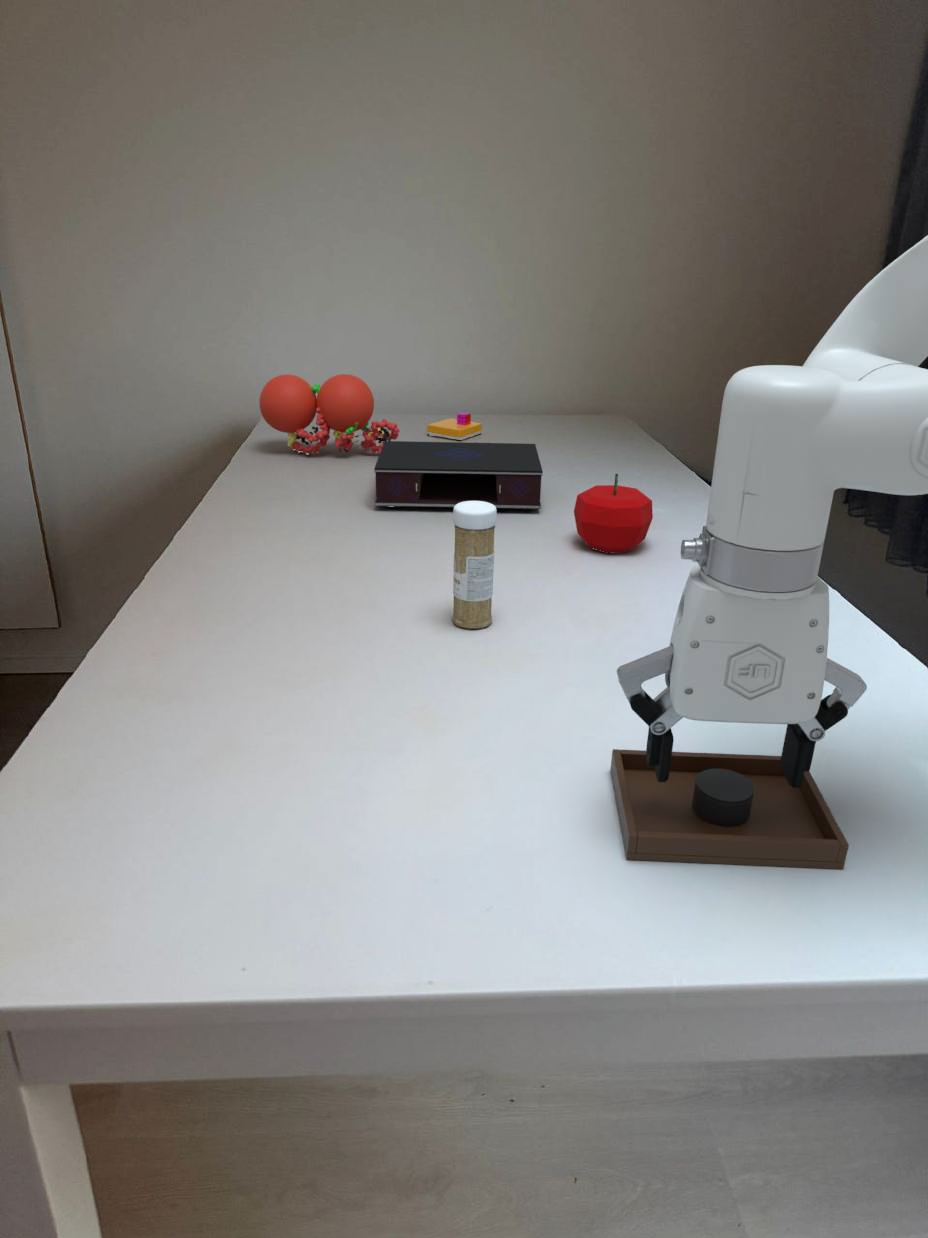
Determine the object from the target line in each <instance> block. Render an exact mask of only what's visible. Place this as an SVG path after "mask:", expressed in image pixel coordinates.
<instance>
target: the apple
mask: <svg viewBox="0 0 928 1238" xmlns="http://www.w3.org/2000/svg"><path fill="white" fill-rule="evenodd" d="M618 482H619V473H615V475H614V484H606V485H605V484H603V485H602V484H598V485H594V486H592V487H590V488H588V489H586V490H584V491H582V492H580V493H578V494H577V495H576V499H575V504H574V509H573V516H574V521H575V526H576V533H577V535H578V536H579V538H581V540H582V541H583V542H584V543H585V542H586V543H587V544H588V545H589V546H590V547H589V546H588V545H587V544H586V543H585V544H586V545H587V546H588V547H589V548H590V549H592V548H594V549H597V550H601V551H604V552H603V553H605V552H608V553H610V554H612V553H611V552H622V553H626V552H625V551H627V552H629V551H631V550H633V549H634V547H635V548H636V547H637V546H639V545H640V544H641V543H642V542H644V541H645V540H646V537H647V535H648V533H649V529H650V526H651V524H652V521H653V518H654V517H653V499H651V498H649V497H648V496H647V495H646V494H645V493H643V492H642V491H640V489H638V488H636V487H630V486H625V485H618ZM632 548H633V549H632ZM597 550H596V551H597ZM601 551H600V552H601ZM608 553H607V554H608Z"/></svg>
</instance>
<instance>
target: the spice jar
mask: <svg viewBox="0 0 928 1238" xmlns="http://www.w3.org/2000/svg"><path fill="white" fill-rule="evenodd" d="M497 511H498V510H497V508H496V507H495V506H494V505H493V504H491V503H488V502H483V501H465V502H460V503H458V504H456V505H455V506H454V507H453V511H452V513H453V514H452V521H453V524H454V553H453V582H452V585H453V586H452V588H453V589H452V594H453V602H452V603H453V607H452V615H451V621H452V623H453V624H455V625H456V626H457V627H460V628H463V629H481V628H482V629H483V628H486V627H488V626H490V625H491V623H492V621H493V616H492V603H493V602H492V601H493V600H492V597H493V594H494V593H493V592H494V590H493V589H494V573H495V572H494V571H495V569H494V568H495V530H496V524H497V515H498V514H497V513H498V512H497Z"/></svg>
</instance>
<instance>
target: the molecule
mask: <svg viewBox="0 0 928 1238" xmlns="http://www.w3.org/2000/svg"><path fill="white" fill-rule="evenodd" d="M316 393H317V394H316ZM258 401H259V410H260V414H261V416H262V418H263V420H264V421H265V422H266V423H267V425H269V426H270V427H272V428H273V429H274V430H276V431H278V432H280V433H286V434H287V437H289V439H288V440H287V447H288V448H291V450H292V449H296V450H298V451H303V452H304V453H305V452H306V453H310V452H311V453H312V452H315V453H316V452H319V453H321V452H320V451H321V448H324V447H326V446H327V443H328V441H329V440H330V438H331V436H330V433H331V430H332V431H333V432H332V436H334V437H335V438H334V442H335V443H334V447H335V448H338V451H339V452H340V453H342V449H343V451H345V452H346V453H348V451H350V450H351V448H352V447H353V445H354V444H355V443H358V442H359V441H360V440H359V439H358V440H356V441H355V442H353V439H354V438H358V437H360V436H363V438H364V440H361V441H360V445H357V446H355V449H357V448H358V447H360V446H361V447H362V449H364V450H365V451H369V450H370V449H371V453H372V454H376V453H378V455H380V452H381V449H382V447H383V444H384V441H394V440H395V441H396V440H397V439H398V437H399V433H400V428H398V423H397V422H390V421H388V420H387V419H386V418H382V419H381V421H375V420H373V421H371V425H370V427H368V426H369V423H370V420H371V418H372V416H373V413H374V410H375V399H374V395H373V392H372V390H371V388H370V387H369V386H368V384H367V383H366V382H365V381H364V380H362V379H361V378H360V377H358V376H355V375H353V374H346V373H341V374H336V375H333V376H331V377H329V378H328V379H326V380H325V381H324V382H323V384H321V385H320V383H315V384H314V386H312V385H311V384H310V383H309V382H308V381H306V380H305V379H304V378H302V377H300V376H298V375H295V374H279V375H277V376H273V377H272V378H271V379H270V380H268V381H267V382H266V384H265V385H264V386H263V387H262V389H261V391H260V395H259V399H258ZM316 414H317V416H316ZM315 417H316V421H315V424H316V425H317V426H311V430H313V431H309V432H308V431H307V430H306V431H305V429H306V428H307V427H309V426H310V425H311V424H312V422H313V421H314V420H315ZM319 429H320V430H321V431H320V430H319ZM359 430H360V431H362V434H358V435H355V432H358V431H359ZM298 440H301V441H298ZM306 440H307V441H306ZM313 442H314V443H315V445H312V444H313ZM376 442H378V445H377V443H376ZM304 444H305V445H306V446H305V445H304ZM311 453H310V454H311Z"/></svg>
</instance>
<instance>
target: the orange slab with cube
mask: <svg viewBox="0 0 928 1238" xmlns="http://www.w3.org/2000/svg"><path fill="white" fill-rule="evenodd" d="M471 418H472V414H471V413H469V412H459V413H457V414H456V418H451V417H449V418H445V419H442V420H439V421H435V422H431V423H429V424H427V427H426V428H427V429H426V431H427V432H432V433H437V434H442V435H447V436H453V437H459V438H461V437H463V436H466V435H469V434H473V433H475V432H478V431H481V430H483V428H482V425H483V424H482V423H481V422H477V421H471V420H472V419H471ZM427 432H426V433H427Z"/></svg>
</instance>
